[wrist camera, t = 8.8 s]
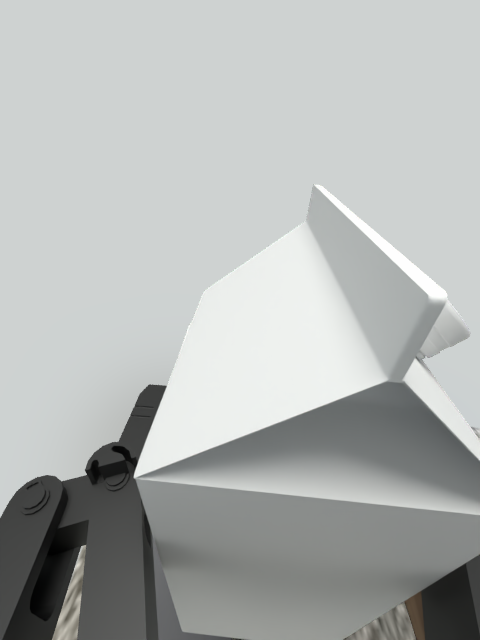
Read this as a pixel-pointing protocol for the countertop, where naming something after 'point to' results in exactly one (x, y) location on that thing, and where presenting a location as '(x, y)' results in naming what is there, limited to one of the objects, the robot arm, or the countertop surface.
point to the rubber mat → (170, 609)
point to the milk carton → (311, 441)
